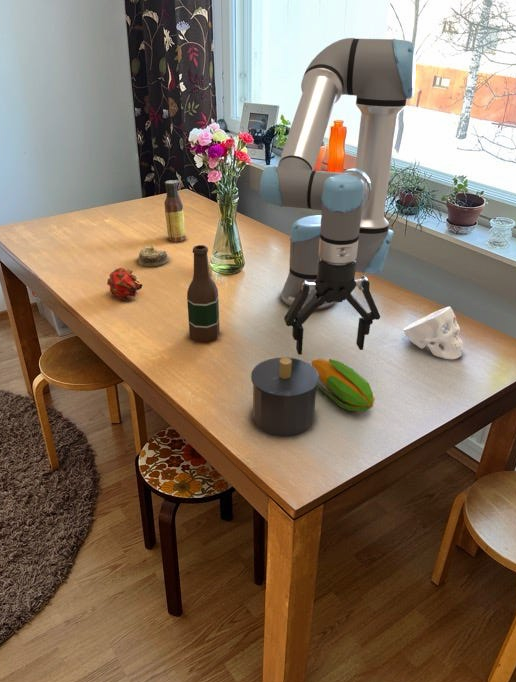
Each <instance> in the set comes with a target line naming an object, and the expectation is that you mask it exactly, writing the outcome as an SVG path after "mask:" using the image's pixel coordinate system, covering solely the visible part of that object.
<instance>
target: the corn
mask: <svg viewBox="0 0 516 682" xmlns="http://www.w3.org/2000/svg"><path fill="white" fill-rule="evenodd" d="M311 365H312V366H313V367H314V368H315V369H316V370H317V372H318V374H319V381H321V382H322V383H323V385H324V386H325V387H326V389H328V390H329V391H330V392H331V393H332V394H331V393H330V392H328V391H327V390H325V388H323V387H322V386H321V385H319V384H318V385H317V387H318V389H320V390H321V391H322V392H323V393H324V394H325V395H326V396H327V397H328V398H330V399H331V400H332V401H333V402H334V403H335V404H336V405H338V406H339V407H341V408H342V409H343V410H347V411H350V412H358V413H360V412H366V411H368V410H369V409H371V408H373V406H374V403H375V397H374V392H373V390H372V387H371V386H370V382H368V381H367V380H365V378H363V376H361V375H360V374H359V373H358V372H356V371H355V370H354V369H353V368H352V367H350V366H348V365H347V364H345V363H344V362H341V361H339V360H335V359H333V358H329V359H328V360H327V359H323V358H316V359H312V360H311ZM334 395H335V396H336V397H335V396H334Z"/></svg>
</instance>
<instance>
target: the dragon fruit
mask: <svg viewBox="0 0 516 682" xmlns="http://www.w3.org/2000/svg"><path fill="white" fill-rule="evenodd" d="M106 284H107V286H109V291H110V293H111V295H112V296H117V297H118V298H120V299H121V300H123V301H130V299H129V297H136V296H137V294H138V292H137V291H139V290H141V289H142V288H143V283H140V281H138V280H137V277H136V275H134V274H133V270H131V269H126V268H124V267H119V268H115V269H113V271H112V272H110V274H109V278H107V283H106Z"/></svg>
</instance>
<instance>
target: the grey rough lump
mask: <svg viewBox="0 0 516 682" xmlns="http://www.w3.org/2000/svg"><path fill="white" fill-rule="evenodd" d="M169 261H170V257H169V256H168V253H167V250H165V249H160V250H157V249H155V247H154V245H150V246H145V247H143V248H141V250H140V251H139V253H138V265H140V266H142V267H147V268H151V267H159V266H162V265H165V264H166V263H168V262H169Z"/></svg>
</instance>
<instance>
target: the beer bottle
mask: <svg viewBox="0 0 516 682" xmlns="http://www.w3.org/2000/svg"><path fill="white" fill-rule="evenodd" d="M208 253H209V248H208V246H206V245H203V244H199V245H195V246H193V248H192V254H193V276H192V280H191V282H190V284H189V285H188V288H187V291H186V293H187V294H186V300H187V301H186V302H187V313H188V314H187V317H188V331H189V337H190V339H192V340H194V341H195V343H203V344H204V343H205V344H209V343H211V342H214V341H217V339H218V337H219V335H220V306H219V305H220V304H219V290H218V287H217V285H216V282H214V280H213V279H212V277H211V274H210V266H209V256H208Z"/></svg>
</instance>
